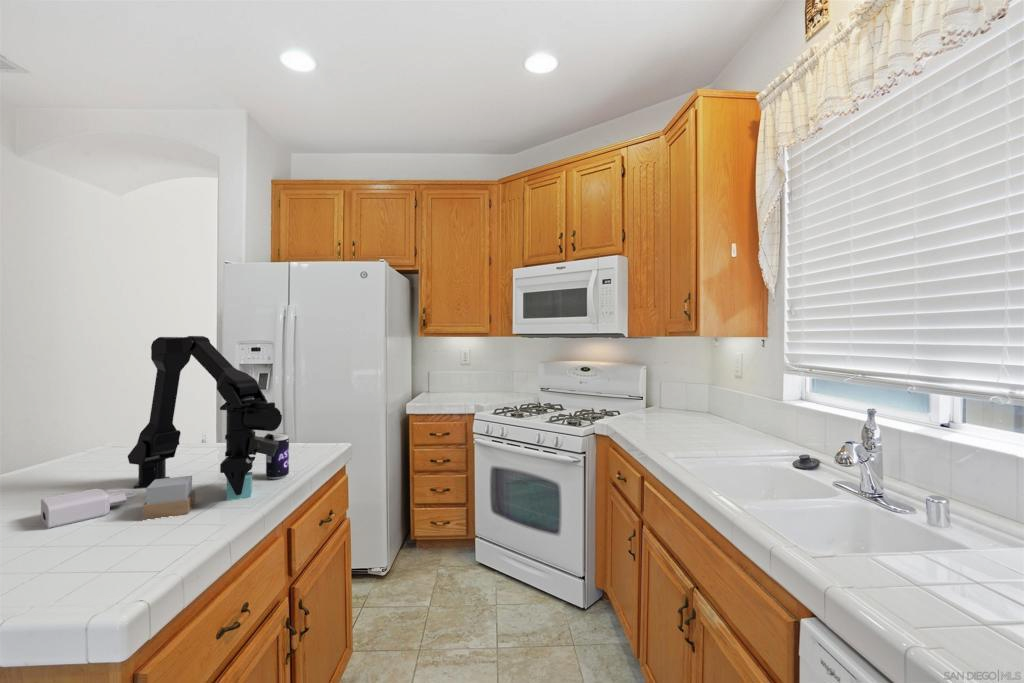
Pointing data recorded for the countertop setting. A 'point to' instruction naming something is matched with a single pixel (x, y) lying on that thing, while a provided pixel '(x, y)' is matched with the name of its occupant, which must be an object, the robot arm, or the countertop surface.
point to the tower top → (168, 490)
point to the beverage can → (279, 458)
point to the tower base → (169, 508)
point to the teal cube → (245, 491)
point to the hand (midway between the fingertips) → (239, 491)
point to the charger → (79, 506)
